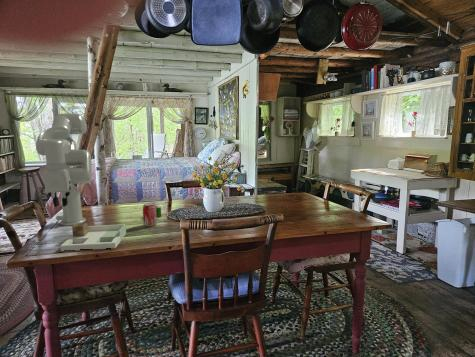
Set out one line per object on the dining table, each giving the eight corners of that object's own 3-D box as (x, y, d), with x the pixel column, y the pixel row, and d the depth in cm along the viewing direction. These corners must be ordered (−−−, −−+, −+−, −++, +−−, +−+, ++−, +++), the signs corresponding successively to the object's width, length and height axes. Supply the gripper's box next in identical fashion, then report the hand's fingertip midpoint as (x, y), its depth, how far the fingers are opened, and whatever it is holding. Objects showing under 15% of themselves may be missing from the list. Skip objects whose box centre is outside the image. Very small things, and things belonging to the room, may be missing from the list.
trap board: (60, 251, 133) (59, 240, 132) (78, 236, 151) (77, 226, 150) (115, 248, 135) (114, 237, 134) (126, 233, 154) (125, 224, 153)
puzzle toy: (158, 214, 188) (158, 205, 187) (161, 217, 183) (160, 207, 182) (149, 216, 185) (148, 206, 184) (151, 218, 180) (150, 208, 179)
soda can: (145, 223, 170) (143, 202, 168) (158, 222, 171) (156, 202, 169) (142, 227, 163) (140, 205, 161) (155, 226, 164) (154, 205, 162)
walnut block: (73, 236, 143) (72, 226, 142) (77, 233, 148) (76, 223, 147) (84, 236, 144) (83, 226, 143) (88, 232, 149) (87, 222, 148)
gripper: (33, 168, 135) (38, 208, 138) (71, 167, 137) (76, 207, 140) (41, 166, 142) (46, 204, 145) (78, 165, 144) (82, 203, 147)
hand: (60, 205), depth 143 cm, fingers open, 3 cm apart
